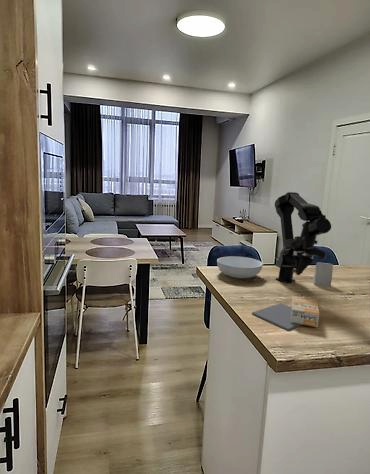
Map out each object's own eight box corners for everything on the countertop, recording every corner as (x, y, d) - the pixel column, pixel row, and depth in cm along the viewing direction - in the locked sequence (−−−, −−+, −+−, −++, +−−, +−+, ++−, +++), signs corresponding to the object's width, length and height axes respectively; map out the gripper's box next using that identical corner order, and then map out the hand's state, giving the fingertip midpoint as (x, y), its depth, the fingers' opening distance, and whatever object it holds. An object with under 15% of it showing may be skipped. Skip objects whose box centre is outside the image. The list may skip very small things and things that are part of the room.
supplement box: (317, 299, 113) (320, 313, 101) (315, 312, 114) (318, 328, 102) (291, 295, 115) (292, 308, 103) (290, 308, 116) (290, 323, 104)
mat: (280, 304, 121) (280, 303, 121) (316, 318, 110) (316, 317, 110) (251, 314, 111) (252, 312, 111) (287, 330, 100) (288, 328, 100)
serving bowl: (245, 268, 168) (247, 255, 166) (270, 281, 148) (272, 266, 147) (208, 270, 160) (209, 256, 159) (229, 284, 141) (230, 268, 140)
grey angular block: (330, 287, 145) (333, 265, 143) (314, 285, 147) (317, 263, 145) (329, 284, 149) (332, 263, 147) (313, 282, 150) (316, 261, 148)
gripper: (277, 231, 136) (267, 267, 133) (306, 226, 118) (295, 268, 116) (299, 241, 139) (289, 276, 136) (331, 237, 121) (320, 278, 118)
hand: (297, 274), depth 127 cm, fingers closed
